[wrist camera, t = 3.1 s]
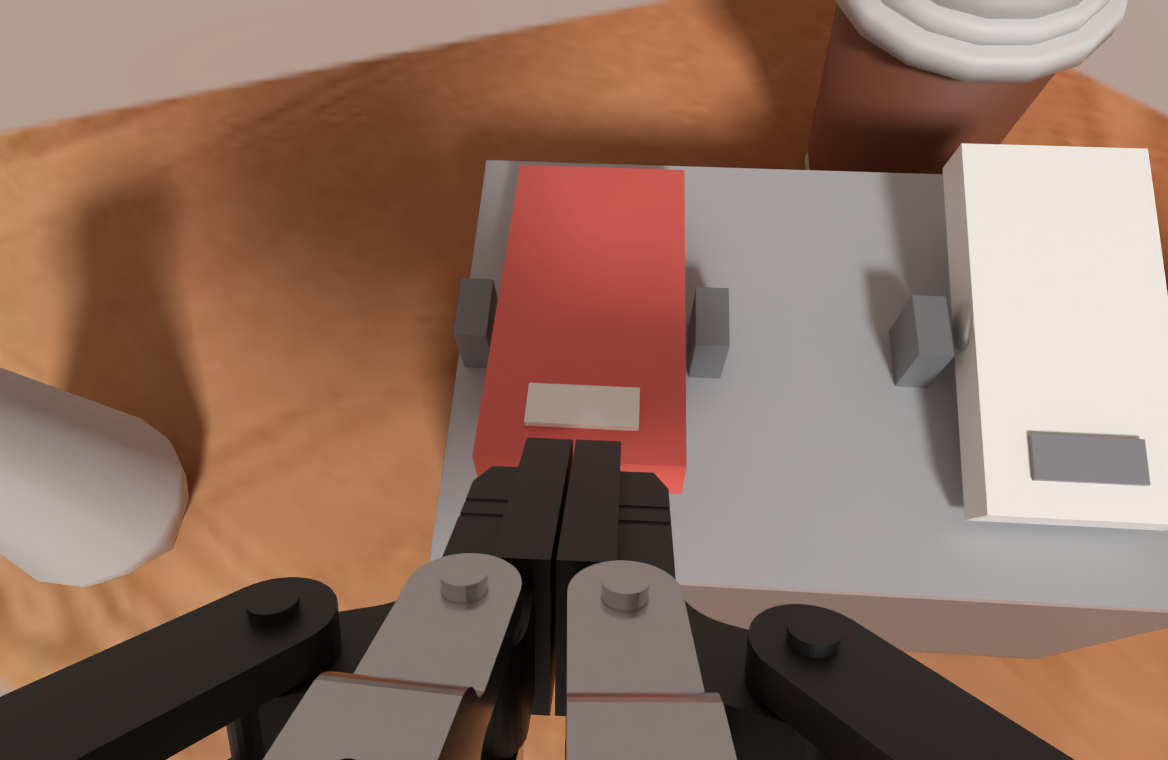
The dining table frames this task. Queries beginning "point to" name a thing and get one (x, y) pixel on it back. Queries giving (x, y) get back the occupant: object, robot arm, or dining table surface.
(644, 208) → the red rocker
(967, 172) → the white rocker
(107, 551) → the salt shaker
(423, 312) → the dining table surface
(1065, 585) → the switch box
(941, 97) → the coffee cup
